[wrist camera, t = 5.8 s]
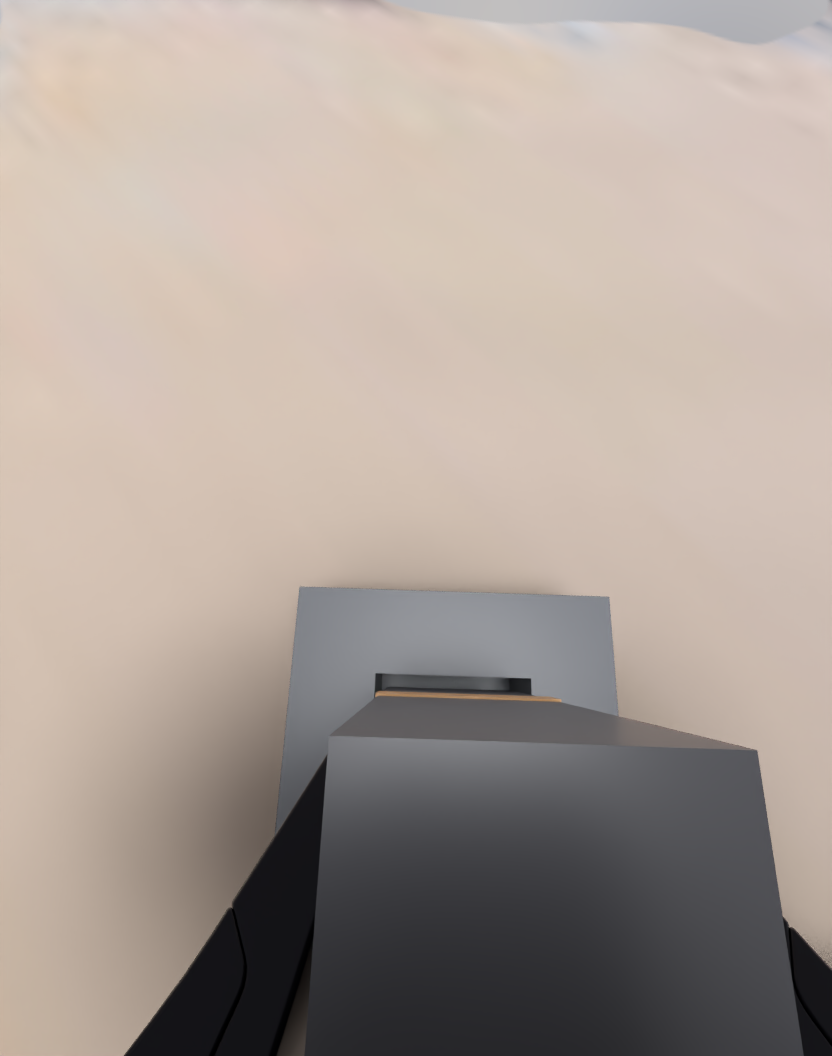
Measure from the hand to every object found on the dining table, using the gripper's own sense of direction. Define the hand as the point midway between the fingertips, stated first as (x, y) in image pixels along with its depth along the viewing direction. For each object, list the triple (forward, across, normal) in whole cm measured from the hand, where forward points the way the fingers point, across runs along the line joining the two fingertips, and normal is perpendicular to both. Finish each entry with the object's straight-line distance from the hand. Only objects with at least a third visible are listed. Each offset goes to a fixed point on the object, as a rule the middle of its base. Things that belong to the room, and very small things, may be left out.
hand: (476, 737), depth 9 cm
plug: (+3, 0, +5) cm, 6 cm away
